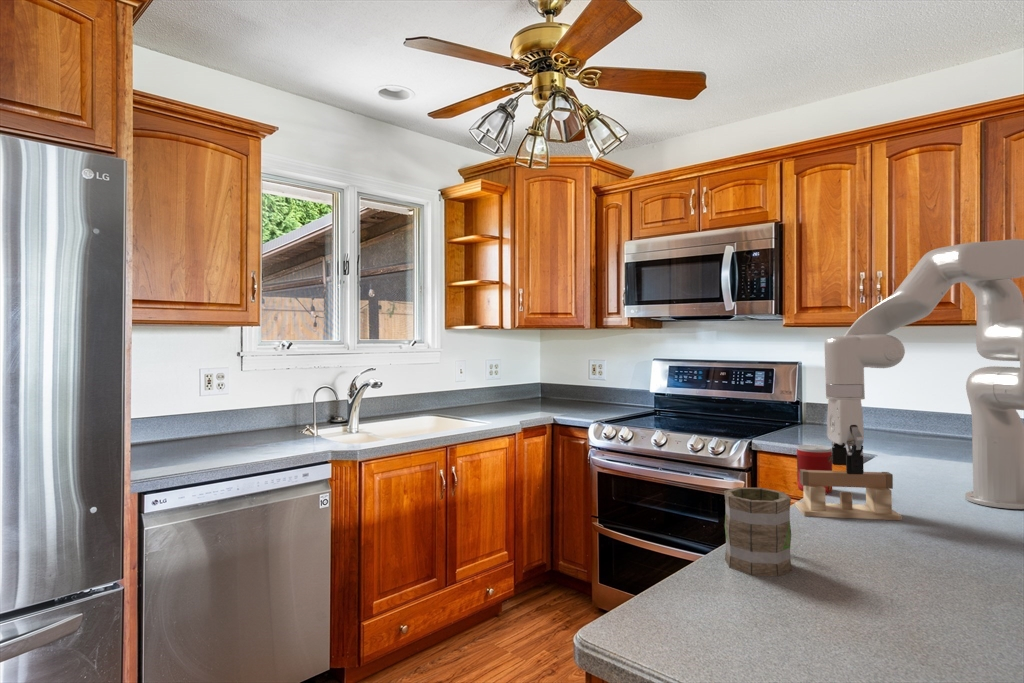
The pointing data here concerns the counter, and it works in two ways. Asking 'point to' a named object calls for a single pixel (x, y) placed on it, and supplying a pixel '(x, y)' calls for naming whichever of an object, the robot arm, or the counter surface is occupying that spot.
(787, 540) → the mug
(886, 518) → the display stand
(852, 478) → the frame bar
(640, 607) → the counter surface
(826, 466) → the canned food
